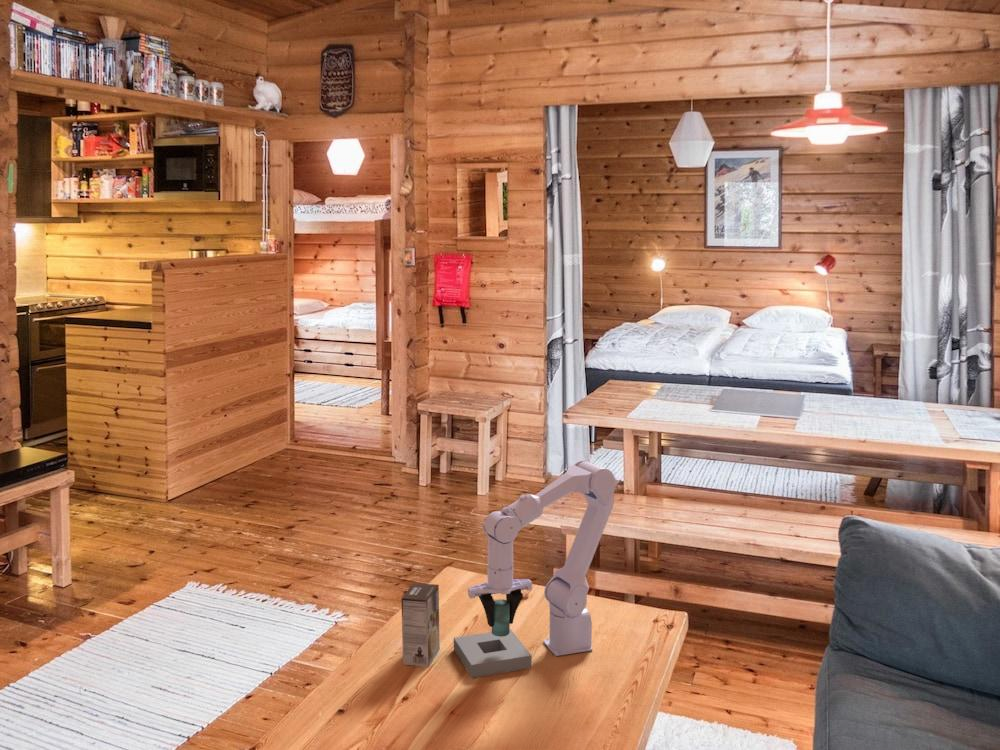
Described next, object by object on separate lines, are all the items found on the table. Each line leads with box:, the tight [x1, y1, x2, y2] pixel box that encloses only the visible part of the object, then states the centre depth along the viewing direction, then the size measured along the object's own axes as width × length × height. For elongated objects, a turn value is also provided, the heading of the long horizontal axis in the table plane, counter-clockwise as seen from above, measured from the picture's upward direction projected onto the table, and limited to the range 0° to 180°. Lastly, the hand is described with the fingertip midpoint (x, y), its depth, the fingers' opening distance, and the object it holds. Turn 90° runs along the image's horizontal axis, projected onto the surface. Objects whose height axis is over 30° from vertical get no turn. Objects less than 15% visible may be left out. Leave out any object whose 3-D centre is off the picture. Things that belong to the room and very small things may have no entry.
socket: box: [453, 628, 533, 679], centre depth 208 cm, size 14×14×3 cm
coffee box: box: [400, 582, 441, 668], centre depth 208 cm, size 9×6×16 cm
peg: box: [491, 598, 511, 637], centre depth 204 cm, size 4×4×7 cm
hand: (500, 623), depth 205 cm, fingers closed on peg, 4 cm apart
